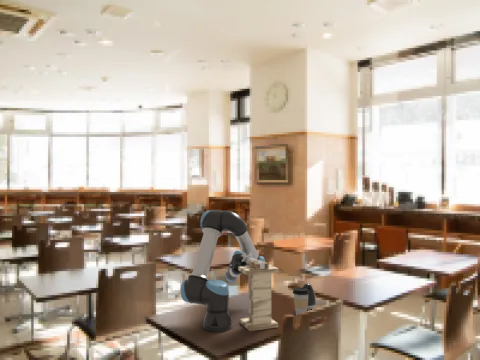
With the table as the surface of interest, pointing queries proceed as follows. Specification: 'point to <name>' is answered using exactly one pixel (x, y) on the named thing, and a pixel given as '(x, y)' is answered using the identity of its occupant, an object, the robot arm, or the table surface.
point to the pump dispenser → (310, 296)
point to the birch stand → (259, 296)
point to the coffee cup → (300, 299)
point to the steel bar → (262, 264)
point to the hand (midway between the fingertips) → (248, 254)
